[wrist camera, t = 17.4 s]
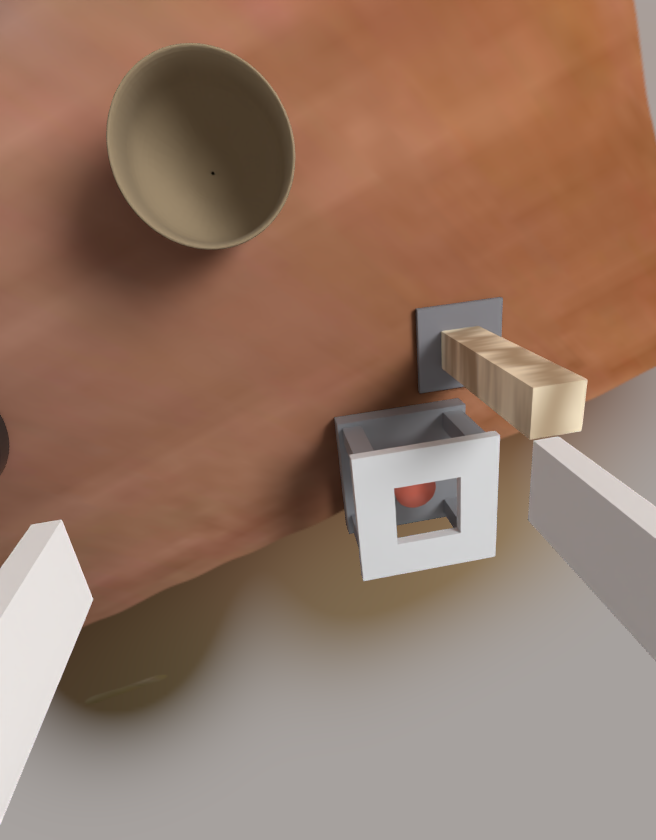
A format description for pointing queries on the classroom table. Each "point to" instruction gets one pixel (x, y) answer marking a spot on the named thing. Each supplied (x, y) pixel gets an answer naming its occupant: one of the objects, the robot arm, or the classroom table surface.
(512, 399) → the light wooden bar
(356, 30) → the classroom table surface
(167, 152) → the bowl
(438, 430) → the grey open box frame
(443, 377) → the pad
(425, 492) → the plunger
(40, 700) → the robot arm
